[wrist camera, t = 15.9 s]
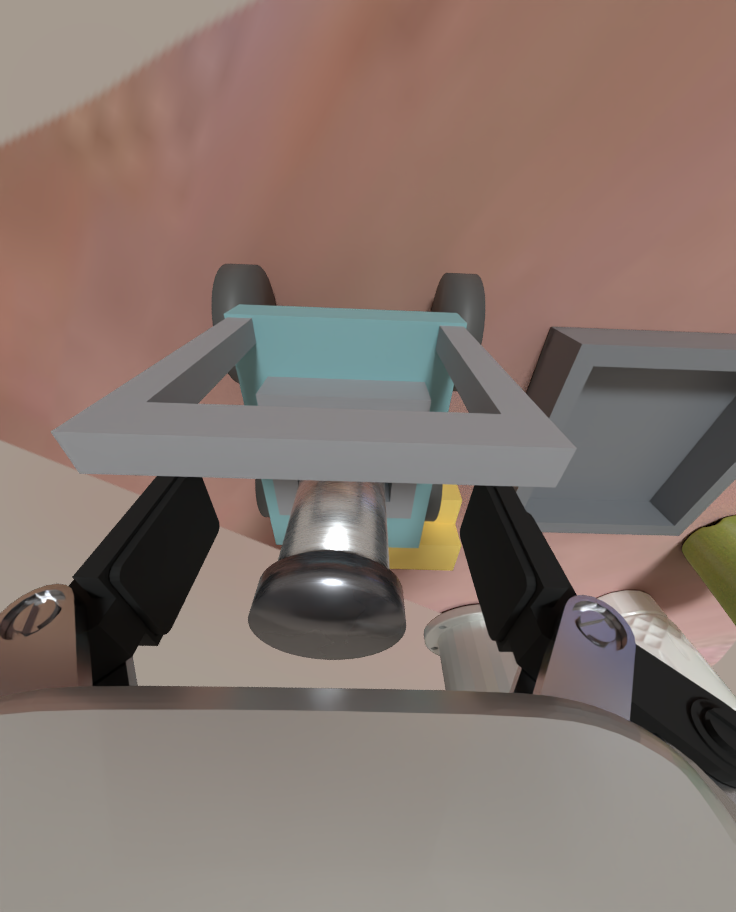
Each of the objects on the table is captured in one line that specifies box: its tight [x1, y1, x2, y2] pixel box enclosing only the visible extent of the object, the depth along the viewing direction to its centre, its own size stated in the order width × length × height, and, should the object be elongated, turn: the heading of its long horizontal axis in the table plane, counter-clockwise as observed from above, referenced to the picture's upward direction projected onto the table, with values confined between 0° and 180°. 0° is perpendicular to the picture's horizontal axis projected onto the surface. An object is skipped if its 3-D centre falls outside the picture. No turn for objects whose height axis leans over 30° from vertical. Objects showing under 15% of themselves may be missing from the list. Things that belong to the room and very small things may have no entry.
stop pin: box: [248, 480, 406, 660], centre depth 10 cm, size 4×4×8 cm
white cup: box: [597, 590, 736, 711], centre depth 30 cm, size 8×8×10 cm
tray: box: [513, 327, 736, 536], centre depth 19 cm, size 13×13×3 cm
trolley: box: [51, 264, 577, 548], centre depth 14 cm, size 14×10×14 cm
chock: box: [388, 484, 462, 570], centre depth 23 cm, size 6×6×4 cm
